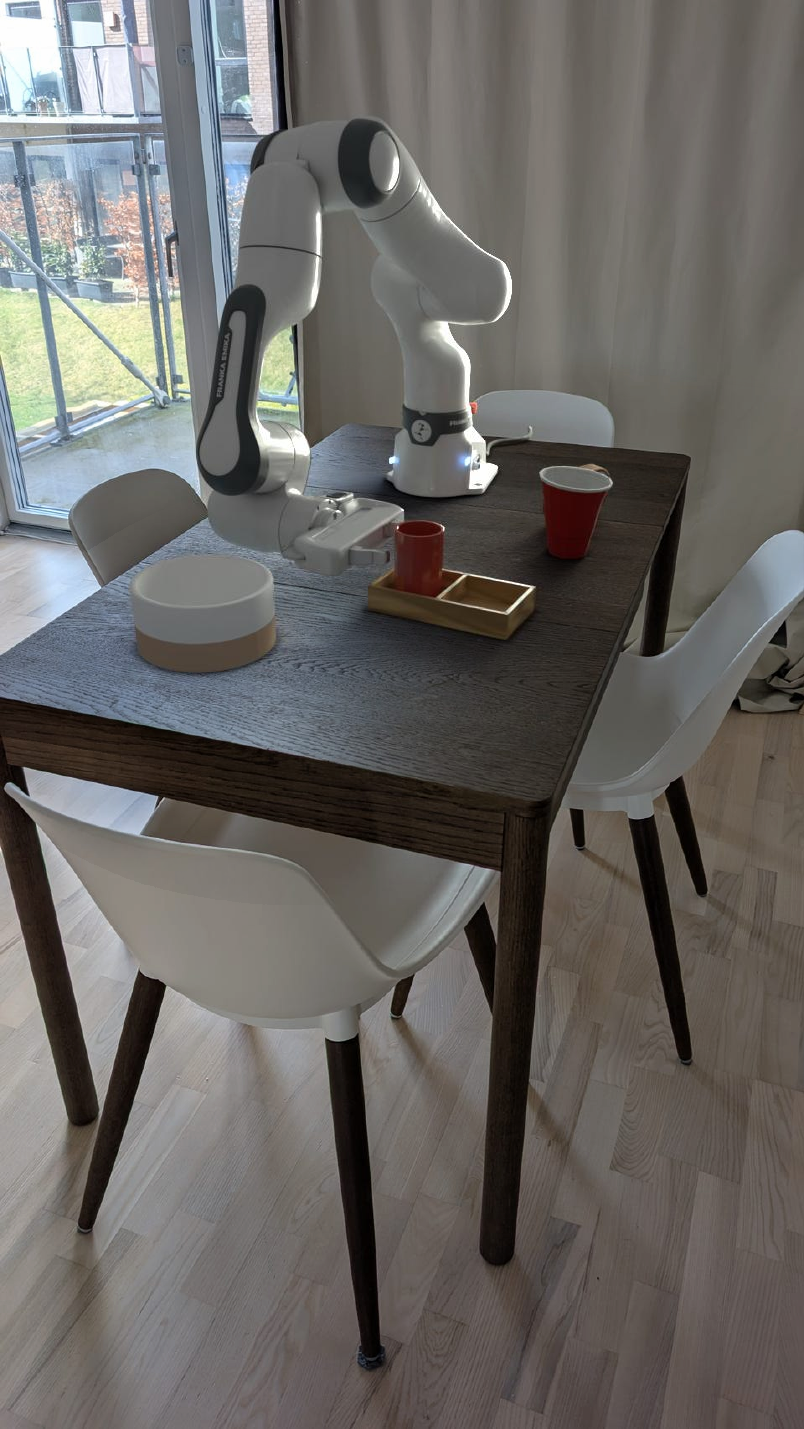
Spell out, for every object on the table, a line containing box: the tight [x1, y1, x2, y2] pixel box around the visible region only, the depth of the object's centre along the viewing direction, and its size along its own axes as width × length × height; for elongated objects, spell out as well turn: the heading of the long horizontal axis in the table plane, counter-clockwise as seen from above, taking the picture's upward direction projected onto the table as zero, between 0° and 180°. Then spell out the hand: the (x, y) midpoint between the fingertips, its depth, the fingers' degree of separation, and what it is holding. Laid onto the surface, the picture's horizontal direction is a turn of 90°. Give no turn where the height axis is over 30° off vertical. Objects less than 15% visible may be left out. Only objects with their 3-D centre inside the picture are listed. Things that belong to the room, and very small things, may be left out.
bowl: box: [128, 553, 277, 674], centre depth 127 cm, size 17×17×8 cm
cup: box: [393, 519, 445, 598], centre depth 137 cm, size 6×6×10 cm
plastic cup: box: [538, 465, 614, 560], centre depth 154 cm, size 11×11×12 cm
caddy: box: [367, 566, 537, 641], centre depth 137 cm, size 10×20×4 cm, turn 63°
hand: (404, 546), depth 137 cm, fingers open, 8 cm apart
